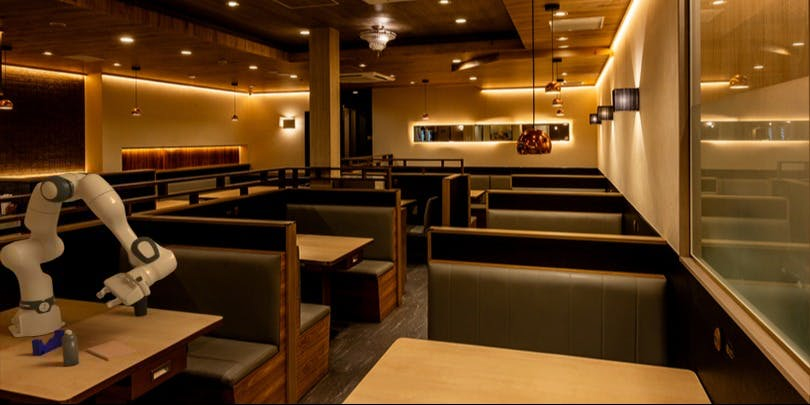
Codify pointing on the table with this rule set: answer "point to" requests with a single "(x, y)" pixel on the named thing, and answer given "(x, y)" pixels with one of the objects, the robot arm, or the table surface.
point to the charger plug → (70, 349)
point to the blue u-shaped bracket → (52, 343)
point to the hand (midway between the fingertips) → (102, 301)
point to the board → (111, 350)
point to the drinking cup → (140, 307)
